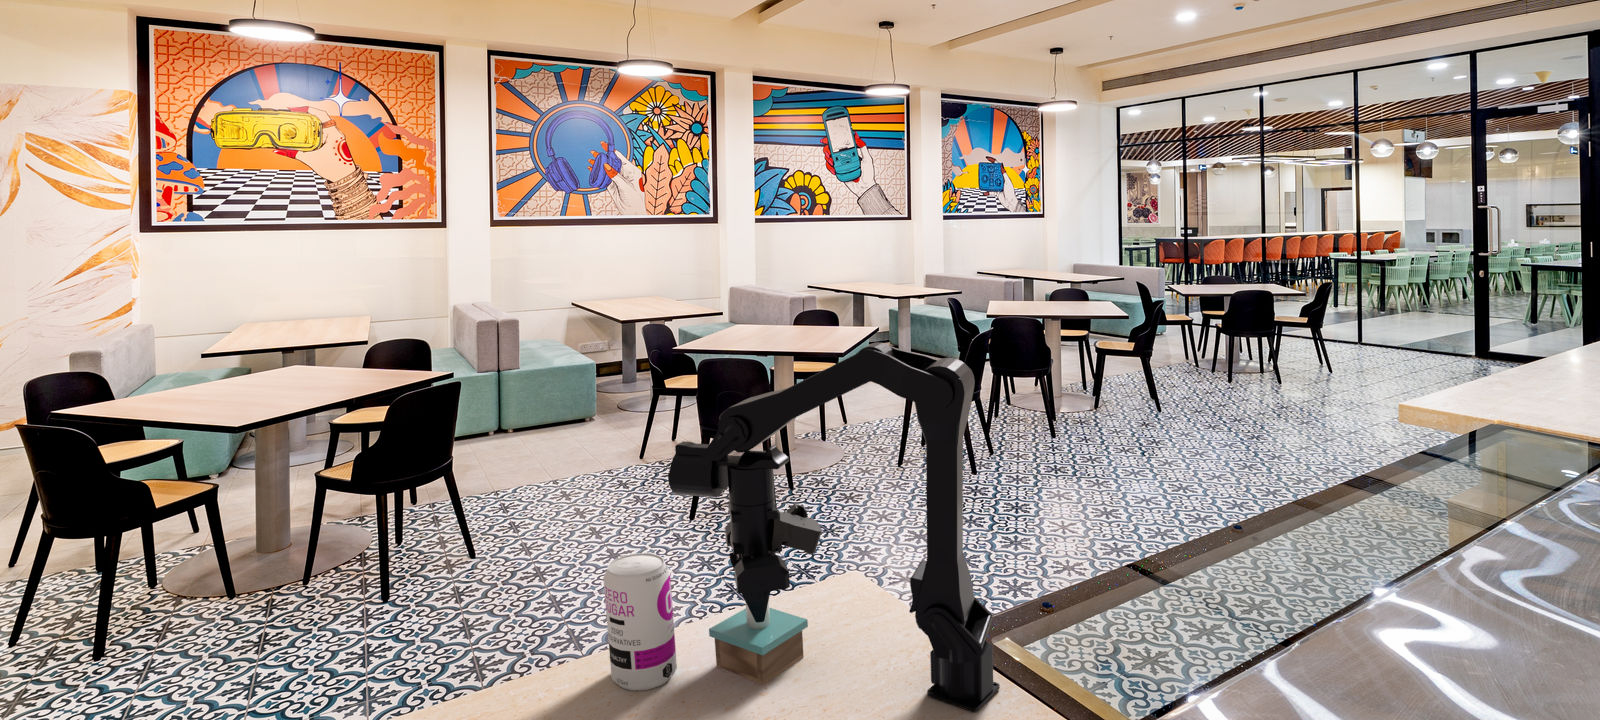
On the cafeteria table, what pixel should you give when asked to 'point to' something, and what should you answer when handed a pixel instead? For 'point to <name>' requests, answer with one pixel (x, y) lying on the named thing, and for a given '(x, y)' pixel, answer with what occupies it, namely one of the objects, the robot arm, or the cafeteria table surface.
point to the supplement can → (640, 621)
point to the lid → (758, 630)
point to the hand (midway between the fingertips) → (758, 616)
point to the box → (759, 659)
